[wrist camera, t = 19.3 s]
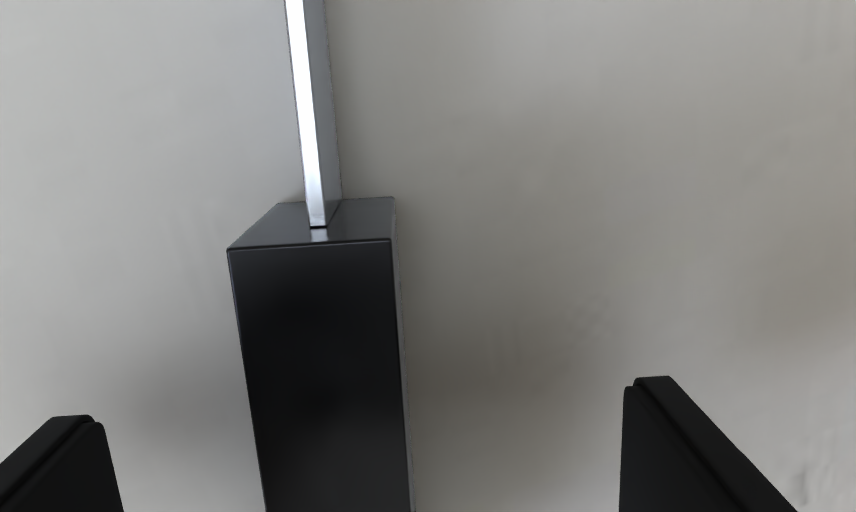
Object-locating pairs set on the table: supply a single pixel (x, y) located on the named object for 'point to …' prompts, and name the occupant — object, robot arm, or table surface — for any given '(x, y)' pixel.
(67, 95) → the table surface
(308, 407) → the screwdriver
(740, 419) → the table surface
